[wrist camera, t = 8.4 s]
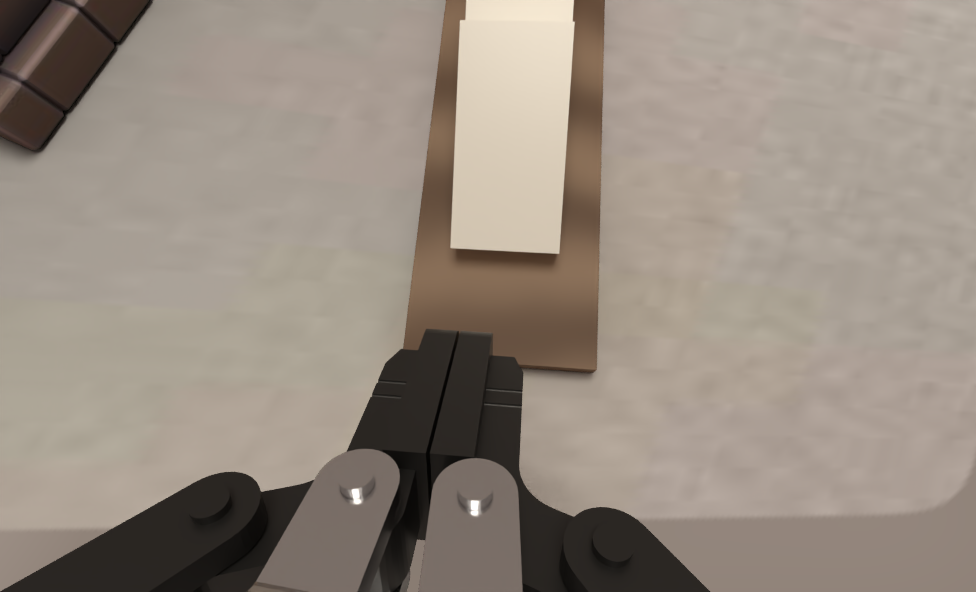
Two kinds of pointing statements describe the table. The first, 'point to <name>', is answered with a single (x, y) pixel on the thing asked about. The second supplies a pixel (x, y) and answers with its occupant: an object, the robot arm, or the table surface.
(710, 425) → the table surface
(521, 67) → the domino
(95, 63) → the miniature tower
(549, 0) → the domino
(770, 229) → the table surface
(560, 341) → the walnut board
